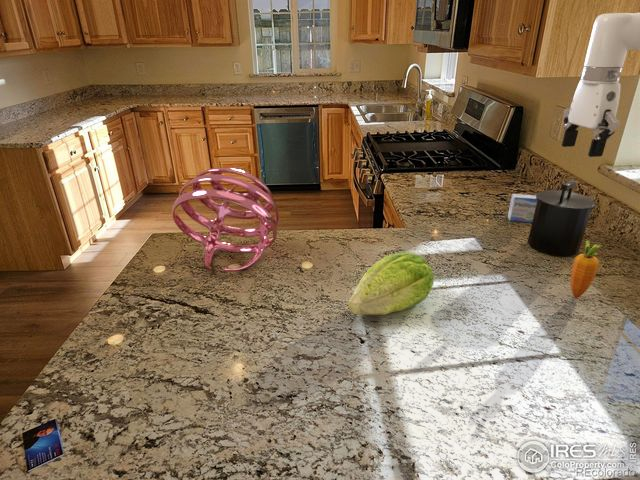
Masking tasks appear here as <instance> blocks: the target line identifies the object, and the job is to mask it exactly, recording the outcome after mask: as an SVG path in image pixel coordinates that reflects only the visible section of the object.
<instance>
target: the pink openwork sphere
mask: <svg viewBox="0 0 640 480" xmlns="http://www.w3.org/2000/svg"><path fill="white" fill-rule="evenodd" d="M224 173H231V174H234V175H238V176H242V177H243V178H247V179H249V180H251V181H252V182H253V183H254V184H253V183H251V182H249V181H246V180H244V179H242V178H238V177H234V176H231V175H224ZM203 182H209V184H210V186H211V187H212V189H210V188H202V185H201V183H203ZM221 183H225V184H229V185H232V187H231V188H230V189H228V188H226V187H225V186H223V184H221ZM190 186H191V190H190V191H187V192H186V190H187V188H188V187H190ZM236 186H237V187H241V188H243V189H245V190H246V191H247V193H239V192H235V187H236ZM260 198H262V199H263V200H264V201H265V202H266V204H265V205H262V204H261V202H260V200H259V199H260ZM193 200H198V201H199V202H200V203H201V204H202V205H204V206H205V207H206V208H208V209H209V210H211V211H212V212H214V213H215V214H216V216H215V219H210V218H208V217H206V216H204V215H202V214H201V213H200V212H198V211H197V210H196V209H195V208H193V206H192V205H191V204H190V203H189V201H193ZM214 200H217V201H223V202H222V203H218V202H216V201H214ZM230 203H231V204H234V205H237V206H240V207H242V208H244V209H247V210H240V209H234V208H231V207H230ZM179 206H180V207H181V208H182V210H183V211H184V212H185V214H186V215H187V216H188V217H189V218H190V219H192V220H193V221H195V222H196V223H197V224H199V225H201V226H202V227H205V228H206V229H208V230H209V235H208V236H205V235H203V234H201V233H199V232H197V231H196V230H194V229H192V228H191V227H189V226H188V225H187V224H186V223H185V222H184V221H183V220H182V219H181V217H180V216H179V213H178V211H177V208H178V207H179ZM171 208H172V210H171V215H172V219H173V222H174V223H175V225H176V226H177V228H178V229H179V230H180V231H181V232H183V233H184V234H185V235H186V236H188V237H189V238H190V239H192V240H193V241H196V242H198V243H200V244H202V245H203V246H204V247H205V252H204V266H205V268H206V269H207V270H208V271H211V270H212V268H213V267H212V263H213V258H214V254H215V251H218V250H219V251H224V252H229V253H237V254H238V253H240V254H248V253H254V255H253V256H252V258H251V259H250V260H249V262H247V263H245V264H244V265H242V266H239V267H231V268H230V267H222V271H224V272H228V273H231V272H232V273H233V272H234V273H235V272H240V271H243V270H246V269H247V268H250V267H251V266H252V265H253V264H255V263H256V262H257V261H258V259H259V258H260V257H261V256H262V254H263V253H264V251H265V250H266V249H268V248H270V247H271V246H272V245H273V243H275V241H276V238H277V236H278V223H279V219H280V213H279V209H278V206H277V204H276V202H275V200H274V196H273V194H272V191H271V190H270V189H269V187H268V186H267V185H266V184H265V183H264V182H263V181H262V180H260V179H259V178H257V177H256V176H255V175H253V174H251V173H250V172H248V171H246V170H243V169H240V168H235V167H213V168H209V169H206V170H203V171H201V172H200V173H198V174H197V175H196V176H195V177H193V178H190V179H189V180H188V181H187V182H185V184H183V186H182V187H181V189H180V191H179V194H178V197H177V198H176V199H175V201H174V202H173V205H172V207H171ZM272 211H274V217H273V215H272V214H271V212H272ZM226 218H233V219H237V220H255V219H257V220H258V221H259V226H258V227H252V228H240V227H233V226H229V225H226V224H225V222H224V221H225V219H226ZM271 232H272V236H271V237H270V238H269V239H268V235H269V234H270V233H271ZM221 235H227V236H233V237H240V238H254V237H259V241H258V242H257V243H256V244H247V245H243V244H232V243H227V242H222V241H221V240H220V239H219V237H220V236H221Z"/></svg>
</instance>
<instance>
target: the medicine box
mask: <svg viewBox="0 0 640 480" xmlns="http://www.w3.org/2000/svg"><path fill="white" fill-rule="evenodd" d="M536 195H537V194H521V193H511V198H510V203H509V208H508V213H507V219H508V220H509V221H510V222H515V223H526V224H528V223H529V224H532V221H533V217H534V213H535V208H536V204H537V199H536Z"/></svg>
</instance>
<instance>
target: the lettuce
mask: <svg viewBox="0 0 640 480" xmlns="http://www.w3.org/2000/svg"><path fill="white" fill-rule="evenodd" d="M434 280H435V276H434V272H433V267H432V266H431V265H430V264H429V263H428V261H427V260H426V259H425V258H424V257H422V256H421V255H420V254H416V253H413V252H401V253H391V254H389V255H386V256H385V257H383V258H381V259H379V260H378V261H376V262H375V263H374V264H372V266H371V267H370V268H369V269H368V270H366V272H365V273H364V275H363V276H362V277H361V279H360V280H359V282H358V284H357V286H356V288H355V290H354V292H353V294H352V295H351V297H350V298H349V299H348V304H347V306H348V309H349V310H350V312H351V313H352V314H353V315H358V316H359V315H369V316H370V315H371V316H377V315H378V316H379V315H382V316H383V315H384V316H385V315H387V314H388V315H389V314H391V313H394V312H395V313H396V312H401V311H403V310H407V309H409V308H412V307H414V306H417V305H418V304H420V303H422V302H423V301H425V300H426V299H427V298H428V296H429V294H430V293H431V291H432V288H433V286H434Z"/></svg>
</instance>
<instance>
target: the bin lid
mask: <svg viewBox="0 0 640 480" xmlns="http://www.w3.org/2000/svg"><path fill="white" fill-rule="evenodd" d="M576 184H577V181H576V180H574V179H573V180H572V179H570V180H568V181H566V182H563V183H562V184H561V186H560V190H555V189H552V190H551V189H547V190H541V191H539V192H537V193H536V194H535V195H536V199H537V200H538V201H540V202H541V203H543V204H546V205H548V206H551V207H555V208H560V209H566V210H588V209H591V210H592V209H593V208H595V206H596V202H595V200H594V199H592V198H591V197H589V196H586V195H584V194H580V193H577V192H573V190H574V188H575V187H576Z"/></svg>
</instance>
